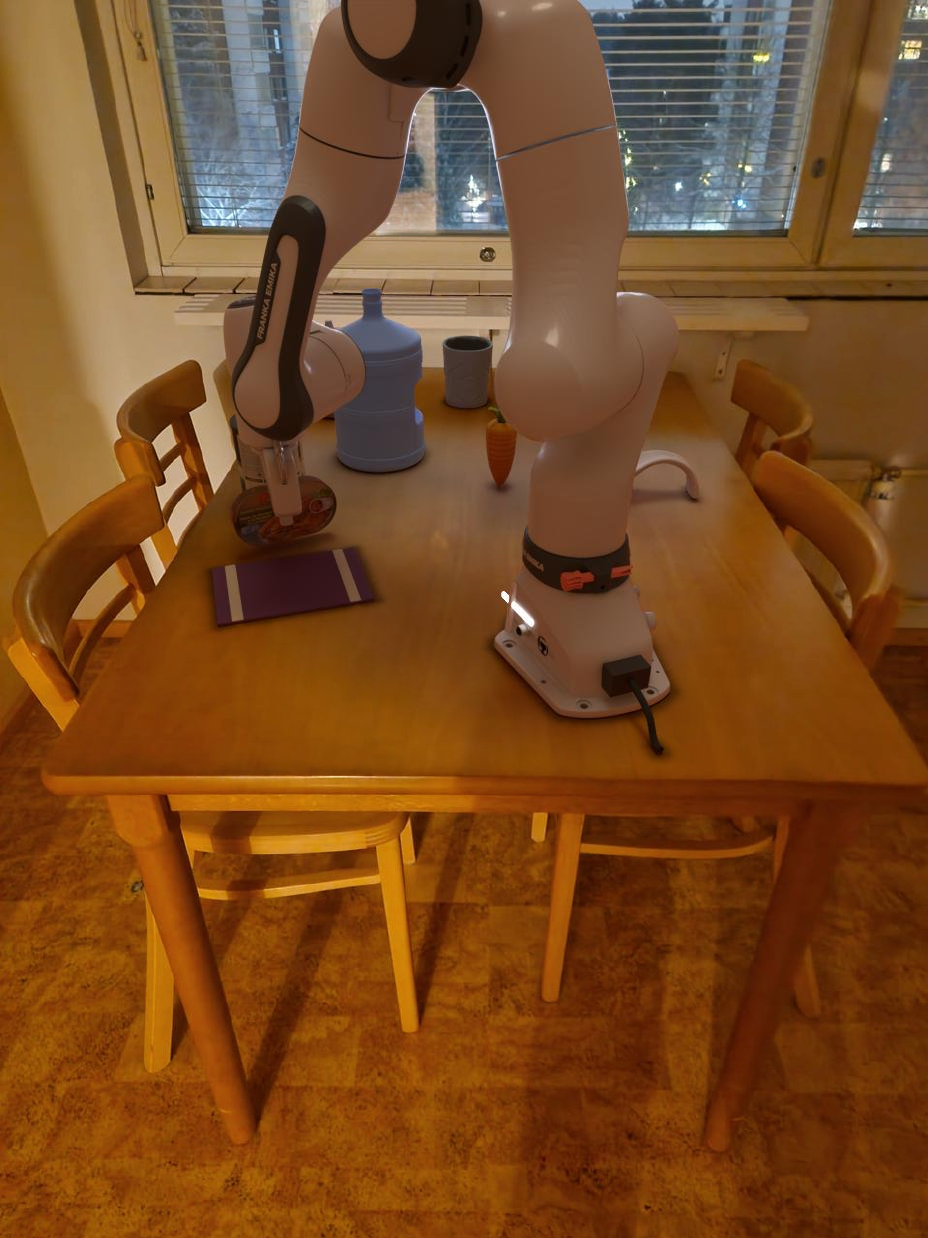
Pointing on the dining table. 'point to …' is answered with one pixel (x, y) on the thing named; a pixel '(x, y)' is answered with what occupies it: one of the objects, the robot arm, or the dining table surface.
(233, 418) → the coffee can
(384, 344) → the water jug
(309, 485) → the tin
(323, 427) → the dining table surface
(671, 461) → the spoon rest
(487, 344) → the grey cup
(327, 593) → the cloth
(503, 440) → the carrot
